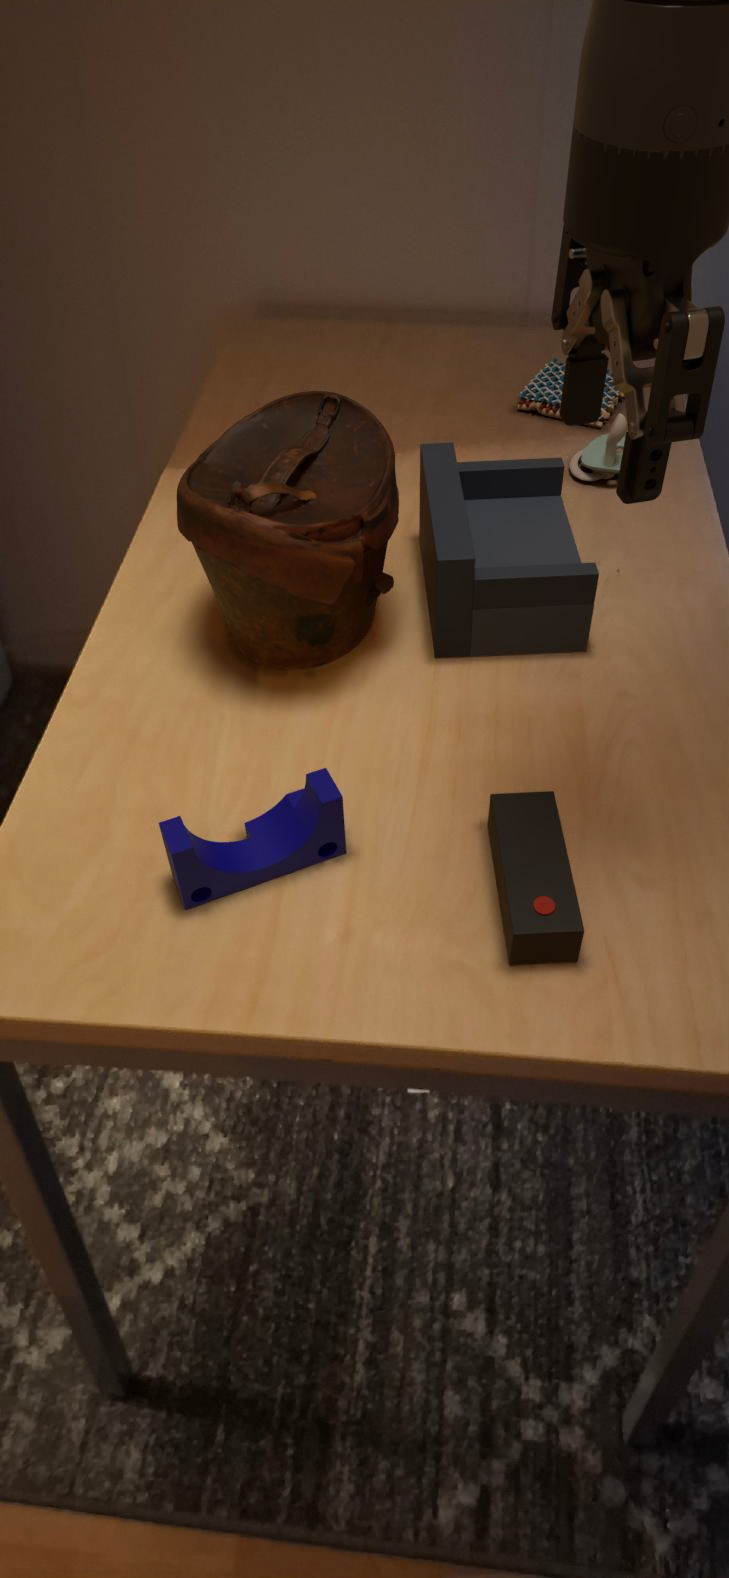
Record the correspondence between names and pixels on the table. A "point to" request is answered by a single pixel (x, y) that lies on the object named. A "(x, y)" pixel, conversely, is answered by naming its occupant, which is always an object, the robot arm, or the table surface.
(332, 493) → the case
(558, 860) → the remote
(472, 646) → the sofa
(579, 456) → the pacifier
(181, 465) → the table surface
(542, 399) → the woven mat
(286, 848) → the blue bracket
